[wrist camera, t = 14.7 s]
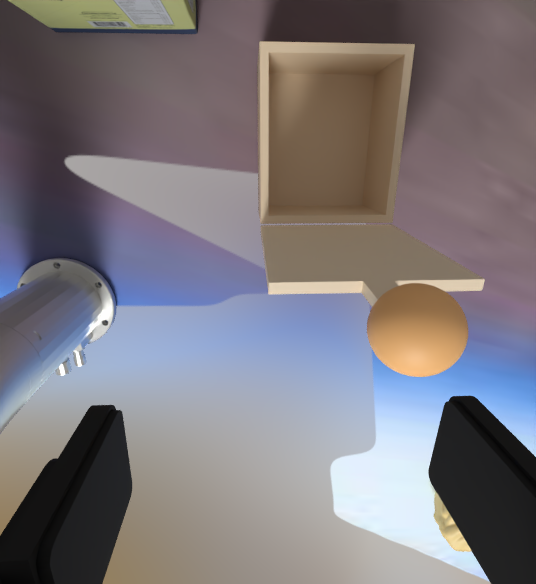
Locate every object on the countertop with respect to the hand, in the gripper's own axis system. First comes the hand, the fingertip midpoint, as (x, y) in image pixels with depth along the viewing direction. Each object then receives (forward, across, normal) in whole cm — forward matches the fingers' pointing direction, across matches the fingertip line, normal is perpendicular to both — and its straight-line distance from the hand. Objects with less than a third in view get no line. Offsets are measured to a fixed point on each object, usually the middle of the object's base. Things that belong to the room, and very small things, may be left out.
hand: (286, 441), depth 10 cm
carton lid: (+17, -7, -3) cm, 18 cm away
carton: (+38, -8, -10) cm, 40 cm away
